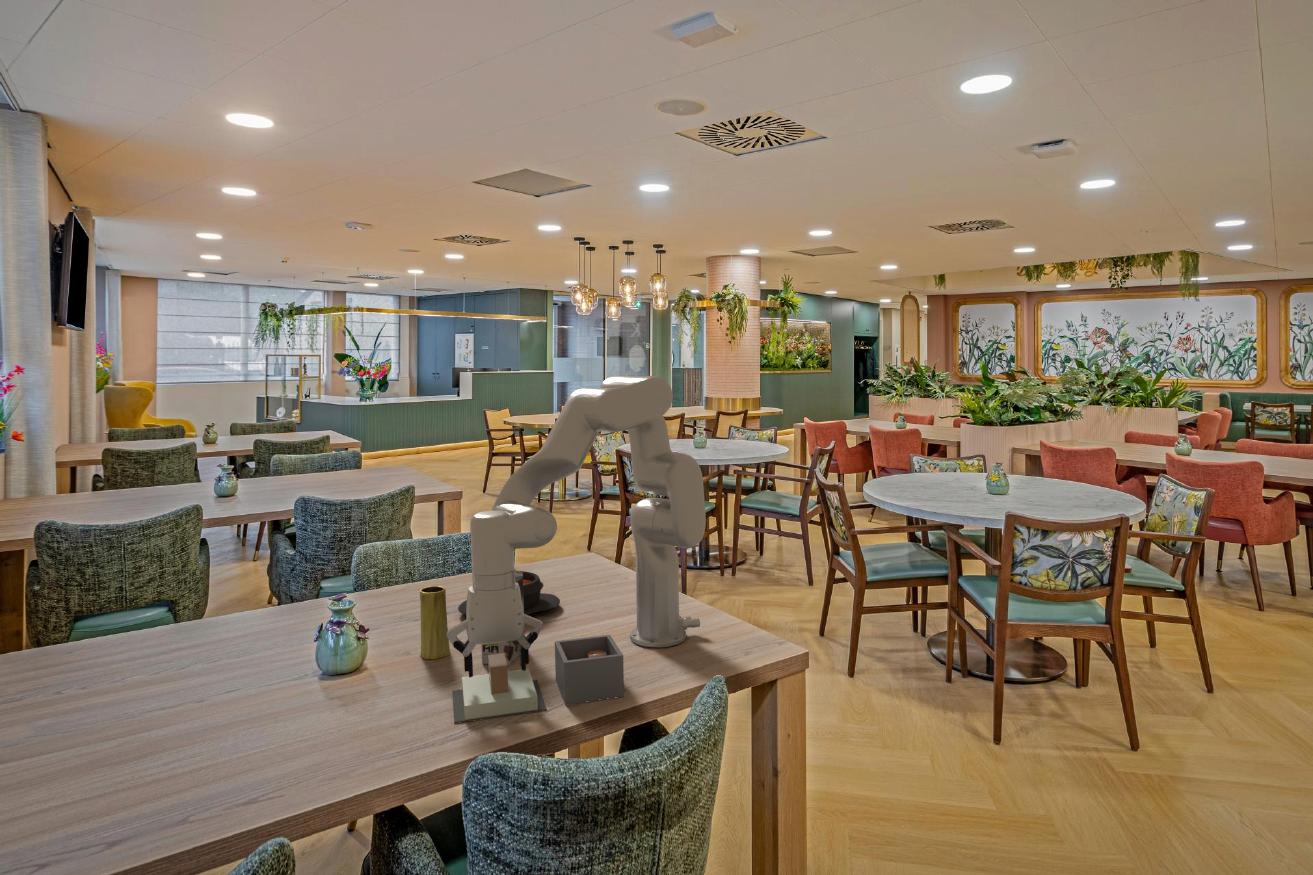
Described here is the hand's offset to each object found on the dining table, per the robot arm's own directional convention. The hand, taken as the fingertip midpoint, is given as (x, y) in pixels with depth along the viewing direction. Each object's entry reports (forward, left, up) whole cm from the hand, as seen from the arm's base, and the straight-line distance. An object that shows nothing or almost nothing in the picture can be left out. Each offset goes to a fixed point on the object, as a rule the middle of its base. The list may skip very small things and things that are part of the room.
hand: (497, 671), depth 139 cm
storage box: (-17, 0, -6) cm, 18 cm away
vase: (+11, -27, -6) cm, 30 cm away
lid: (0, 0, -5) cm, 5 cm away
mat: (0, 0, -6) cm, 6 cm away
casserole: (-7, -50, -6) cm, 51 cm away
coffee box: (-3, -21, -6) cm, 22 cm away
